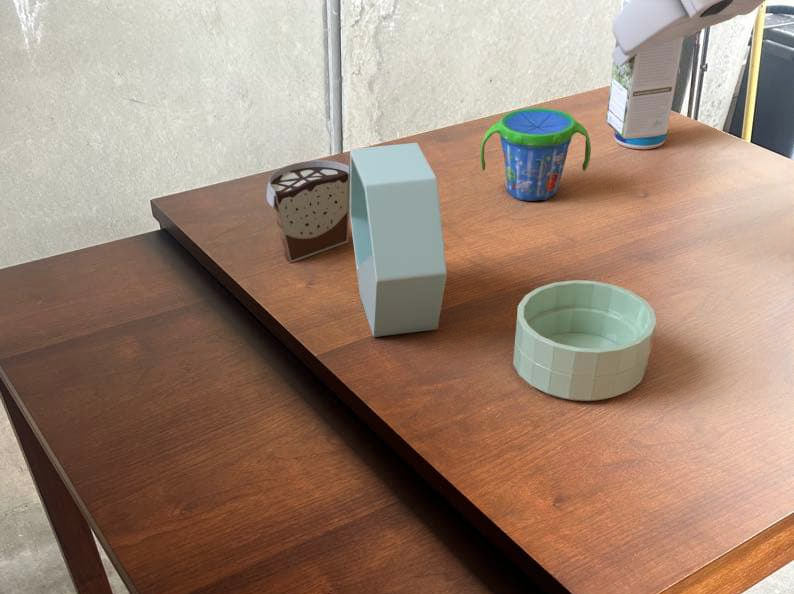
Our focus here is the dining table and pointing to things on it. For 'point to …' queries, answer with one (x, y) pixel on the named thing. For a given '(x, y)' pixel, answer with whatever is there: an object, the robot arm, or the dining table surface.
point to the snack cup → (535, 150)
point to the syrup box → (644, 90)
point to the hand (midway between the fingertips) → (643, 50)
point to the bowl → (583, 339)
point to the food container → (310, 206)
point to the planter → (397, 238)
